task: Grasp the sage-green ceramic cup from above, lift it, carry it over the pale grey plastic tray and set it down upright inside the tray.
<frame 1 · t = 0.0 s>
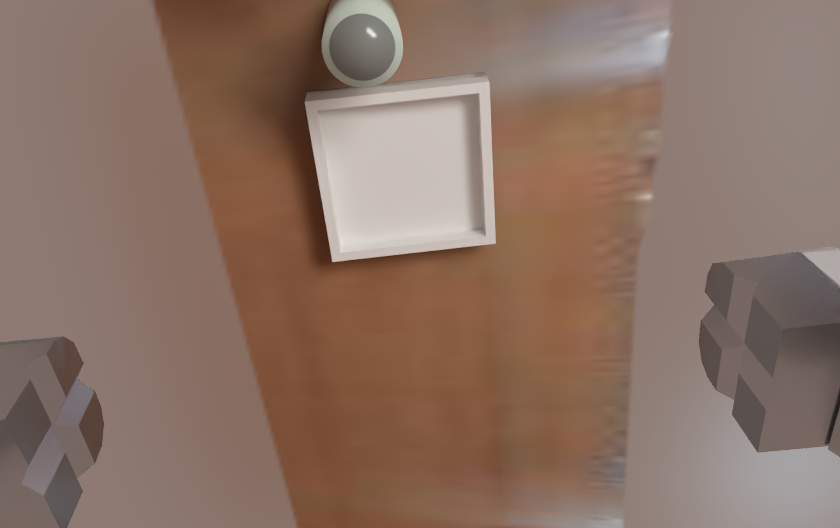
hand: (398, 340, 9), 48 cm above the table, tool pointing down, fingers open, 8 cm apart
grey tray: (404, 165, 59), on the table
sage cup: (362, 19, 53), on the table
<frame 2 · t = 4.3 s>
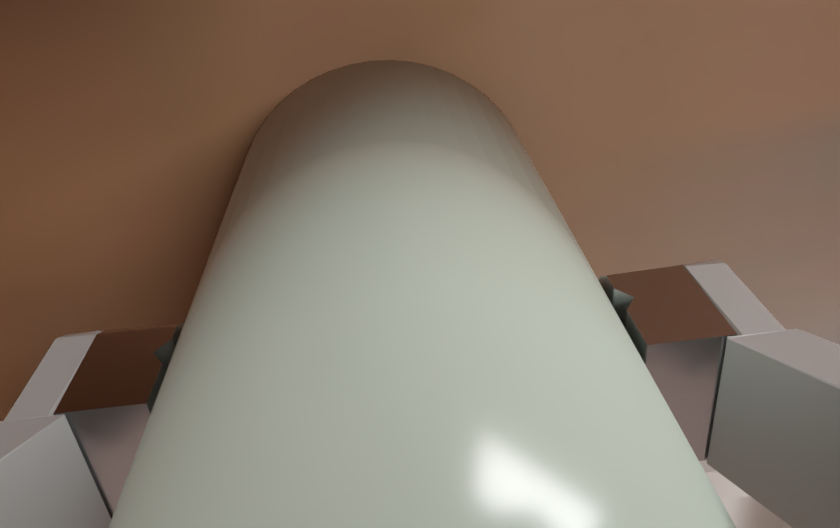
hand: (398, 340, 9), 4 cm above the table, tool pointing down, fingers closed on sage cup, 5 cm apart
sage cup: (388, 205, 13), on the table, touching gripper
when the fingers open (7 cm above the table, at t = 11.0 s): sage cup drops 1 cm, resting on grey tray.
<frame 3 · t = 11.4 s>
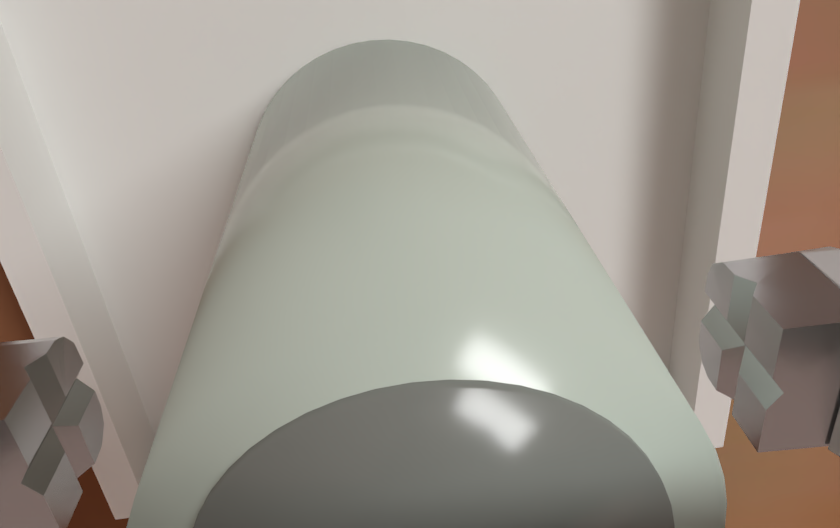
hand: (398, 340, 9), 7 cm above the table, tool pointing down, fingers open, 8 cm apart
grey tray: (383, 156, 15), on the table
sage cup: (386, 174, 14), point 1 cm above the table, touching grey tray
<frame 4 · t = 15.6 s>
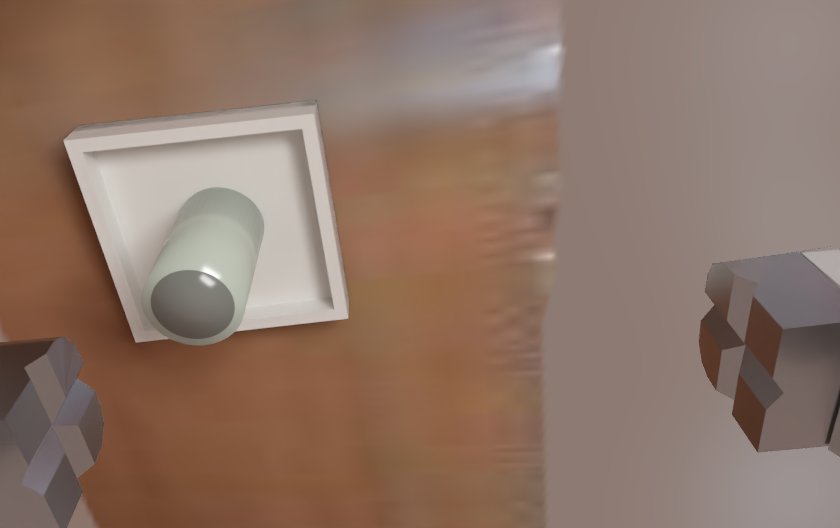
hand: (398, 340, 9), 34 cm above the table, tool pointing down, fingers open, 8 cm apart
grey tray: (224, 218, 46), on the table
sage cup: (222, 225, 45), point 1 cm above the table, touching grey tray
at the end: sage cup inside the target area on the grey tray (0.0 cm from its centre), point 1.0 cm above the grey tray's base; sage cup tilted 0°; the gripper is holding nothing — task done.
